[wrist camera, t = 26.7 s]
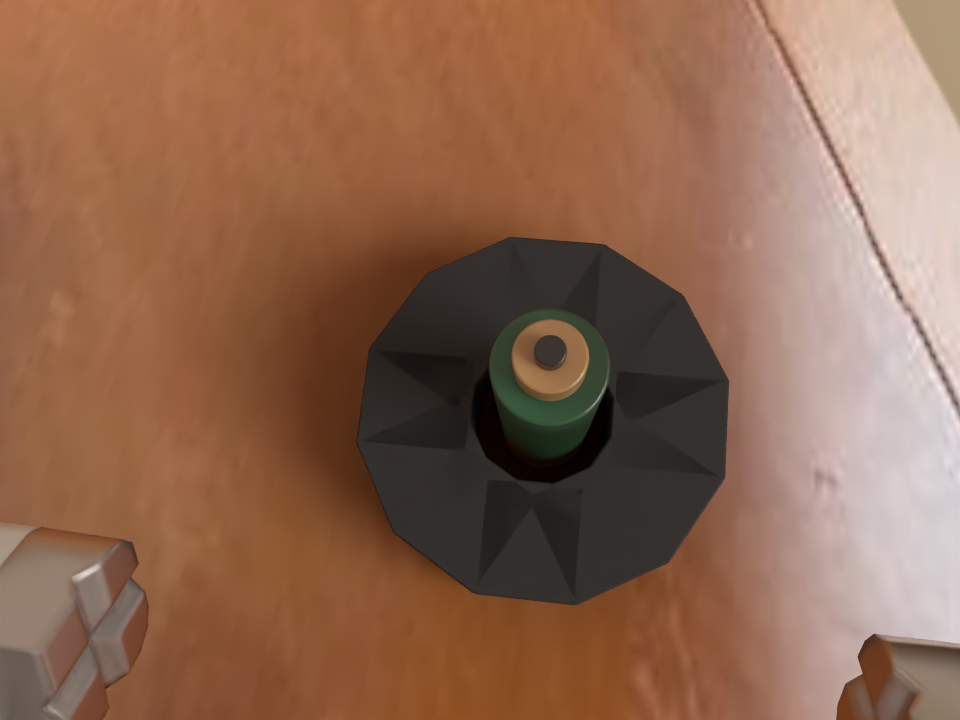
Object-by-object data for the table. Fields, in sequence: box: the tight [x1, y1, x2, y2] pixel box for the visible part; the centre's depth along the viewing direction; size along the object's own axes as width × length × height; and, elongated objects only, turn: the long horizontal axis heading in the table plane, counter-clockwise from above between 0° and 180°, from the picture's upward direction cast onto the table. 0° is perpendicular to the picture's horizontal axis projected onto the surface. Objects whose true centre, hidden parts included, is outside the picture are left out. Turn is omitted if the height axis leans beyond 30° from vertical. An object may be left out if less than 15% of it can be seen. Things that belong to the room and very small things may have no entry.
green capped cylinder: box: [489, 309, 610, 468], centre depth 23 cm, size 3×3×11 cm
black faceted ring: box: [357, 237, 729, 605], centre depth 27 cm, size 11×11×4 cm
